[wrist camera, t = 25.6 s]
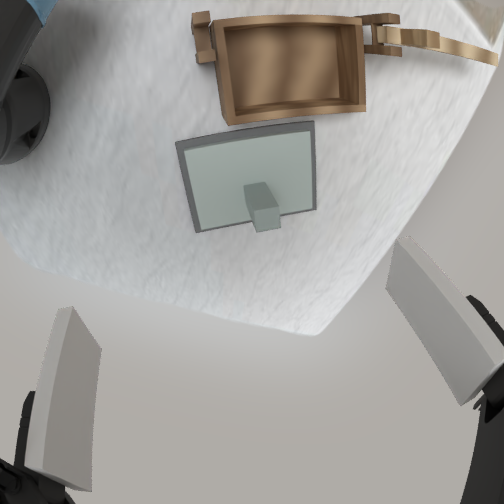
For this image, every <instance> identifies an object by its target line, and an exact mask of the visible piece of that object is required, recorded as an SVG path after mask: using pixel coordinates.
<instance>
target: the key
mask: <svg viewBox="0 0 504 504" xmlns="http://www.w3.org/2000/svg"><path fill="white" fill-rule="evenodd" d="M377 38H378V43H388V44H396V45H403V46H410V47H416V48H422V49H428V50H433V51H438V52H443V53H448V54H452V55H457V56H461V57H465V58H469V59H472V60H476V61H480V62H483V63H487V64H490V65H494V66H498V54H497V53H494V52H491V51H488V50H485V49H482V48H479V47H476V46H473V45H470V44H466V43H463V42H460V41H456V40H452V39H449V38H445V37H441V36H440V35H439V33H438V32H434V31H430V30H422V29H402V28H396V27H390V26H377Z"/></svg>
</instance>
